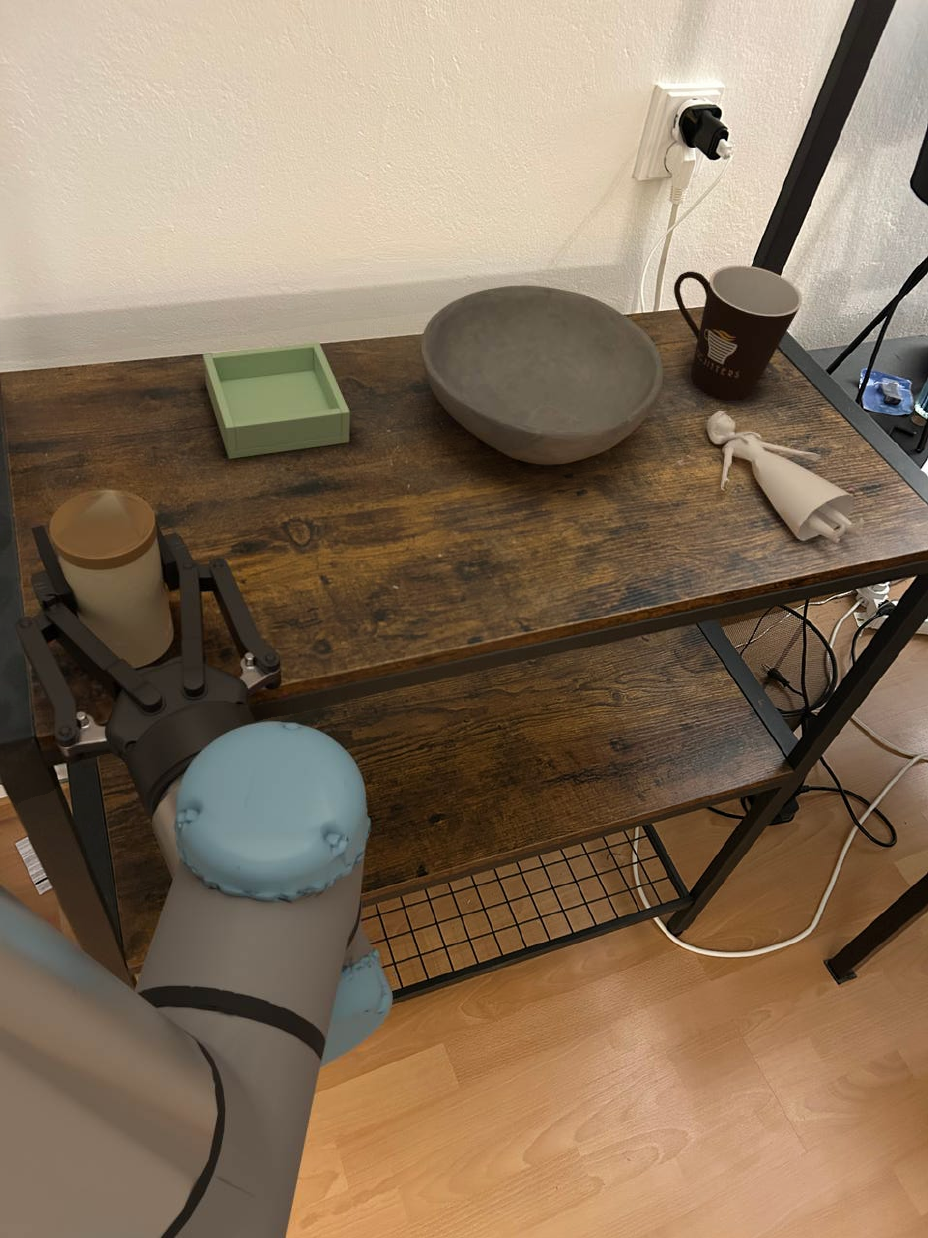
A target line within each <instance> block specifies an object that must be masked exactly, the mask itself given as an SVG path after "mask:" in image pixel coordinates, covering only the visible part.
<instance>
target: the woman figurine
mask: <svg viewBox="0 0 928 1238" xmlns="http://www.w3.org/2000/svg"><path fill="white" fill-rule="evenodd" d="M735 430H736V421H735V420H733V419H732V418H731V417H730V415H729V414H728V413H727V412H726V411H724V410H718V411H716V412H714V413H713V414H712V415H711V416H710V417H709V418H708V419H707V422H706V432H707V434H708V437H709V440H710V441H711V442H712V443H713V444H715V445H723V444H724V446H722V448H721V451H722V453H723V454H724V460H723V465H722V475H721V479H720V481H721V483H720V489H721V491H725V489H724V486H725V484H726V482H727V483H729V482H730V479H729V477H728V472H729V469H730V468H731V465H732V461H733V457H735V458H738V459H744V460H746V461H749V462H750V463H751V466H752V467H751V468H752V474H753V475H754V478H755V480H756V482H757V484H759V486H760V487H761V489H762V491H763V492H764V494H765V495H766V497H767V498H768V500H769V501H770V504H772V506H773V508H774V510H775V511H776V512H777V513H778V515H779V516H780V517H781V519H782V520H783V521H784V522H785V524H786V526H787V527H788V528H789V529H790V530H791V532H792V533H793V534H794V536H795V537H796V538H797V539H799V540H800V541H802V542H805V541H807V540H810V539H812V538H815V537H818V536H819V535H822V536H823V537H825V538H827V539H828V540H830V541H831V542H834V543H835V544H838V543H839V542H840V541H841V538H840V537H842V536H843V535H844V534H845V532H846V531H847V532H848V533H850V534H852V535H854V536H856V537H858V536H859V535H860V533H861V531H860V530H861V529H862V528H863V527H864V525H865V522H866V521H865V520H864V518H863V517H860V518H859V520H858V521H856V522H852V521H851V520H850V519H848V516H849V515H850V514H851V513H852V511H853V510H854V508H855V496H854V495H852V494H851V493H849V492H847V491H845V490H844V489H842V488H841V487H839V486H837V485H835V484H833V483H832V482H830V481H829V480H827V479H825V478H823V477H821V476H820V475H818V474H816V473H814V472H813V471H810V470H808V469H806V468H805V467H803V466H801V465H799V464H798V463H796V462H793V461H792V460H790V459H787V458H785V457H783V456H781V455H778V454H776V453H779V454H787V455H793V456H797V457H801V458H803V459H806V460H811V461H814V462H817V461H818V460H819V459H821V457H822V455H821V454H818V453H815V452H812V451H801V450H799V449H798V450H797V449H794V448H789V447H786V446H784V445H779V444H773V443H769V442H766V441H761V440H759V439H763V438H762V435H760V433H758V432H754V431H751V430H750V431H742V432H741V431H740V432H735ZM773 452H774V453H773ZM837 527H839V528H837ZM847 537H849V536H847Z"/></svg>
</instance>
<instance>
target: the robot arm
mask: <svg viewBox="0 0 928 1238" xmlns="http://www.w3.org/2000/svg"><path fill="white" fill-rule="evenodd" d="M142 499H144V500H145V501H146V499H145V498H144V497H142ZM156 526H157V540H158V546H159V551H160V557H161V563H162V568H163V574H164V579H165V585H166V588H167V589H168V591H169V592H173V591H177V590H179V603H180V604H179V605H180V622H181V623H180V626H181V628H180V629H181V639H180V640H181V641H180V644H181V655H178V656H175V657H173V658H170V659H168V660H167V661H165V662H163V663H162V664H159V665H156V666H148V667H142V668H140V669H136V668H133V667H132V666H131V665H130V664H129V663H128V662H127V661H126V660H124V659H120V658H119V657H118V656H116V655H115V654H114V653H113V652H112V651H111V650H110V649H109V648H108V647H107V646H106V645H105V644H104V643H103V642H102V641H101V640H100V639H99V638H98V637H97V636H96V635H95V634H94V633H93V632H92V631H91V630H90V629H89V628H88V627H87V626H86V625H84V624H83V623H82V622H81V621H80V620H79V617H78V614H77V610H76V607H75V604H74V600H73V597H72V593H71V590H70V588H69V586H68V583H67V581H66V579H65V577H64V573H63V570H62V567H61V563H60V561H59V558H58V556H57V554H56V553H55V552H56V551H55V549H54V547H53V544H52V543H51V541H50V539H49V536H48V533H47V531H46V529H45V526H44V525H38V526H35V527H32V528H31V529H30V530H31V532H32V535H33V538H34V540H35V544H36V548H37V551H38V554H39V558H40V560H41V562H42V565H43V567H44V570H41V571H37V572H33V573H32V574H31V578H30V582H31V585H32V587H33V591H34V595H35V597H36V599H37V602H38V604H39V607H40V610H39V612H38V613H37V614H36V615H35V616H23V617H21V618H19V619H18V620H16V622H15V624H14V627H15V630H16V633H17V635H18V638H19V641H20V643H21V646H22V649H23V651H24V654H25V657H26V658H27V660H28V663H29V664H30V667H31V668H32V671H33V673H34V674H35V675H34V676H35V677H36V679H37V682H38V683H39V685H40V687H41V689H42V692H43V694H44V695H45V698H46V700H47V702H48V704H49V707H50V708H51V710H52V712H53V716H54V717H53V735H54V739H55V741H56V743H57V747H58V749H59V752H60V754H61V758H62V760H63V761H64V762H65V763H67V764H76V763H77V764H78V763H79V762H80V761H82V759H84V757H85V753H89V752H98V751H104V750H105V751H106V750H109V751H110V752H111V754H113V756H115V757H117V758H119V759H120V760H121V761H122V762H123V763H124V765H125V766H126V768H127V771H128V774H129V776H130V779H131V780H132V783H133V786H134V788H135V790H136V793H137V795H138V798H139V801H140V803H141V805H142V808H143V810H144V812H145V815H146V817H147V818H148V819H149V820H150V821H151V829H152V832H153V834H154V837H155V839H156V843H157V845H158V846H159V850H160V852H161V855H162V857H163V859H164V862H165V864H166V867H167V869H168V872H169V874H170V876H171V880H172V882H171V885H170V887H169V890H168V893H167V895H166V899H165V902H164V905H163V907H162V909H161V912H160V916H159V918H158V922H157V924H156V927H155V930H154V933H153V936H152V938H151V942H150V945H149V948H148V950H147V953H146V956H145V958H144V962H143V964H142V967H141V970H140V973H139V976H138V979H137V982H136V985H135V988H134V989H133V988H132V987H130V986H129V985H128V984H126V983H125V982H124V981H122V979H120V978H119V977H117V976H116V975H115V974H114V973H112V972H111V971H110V970H109V969H107V968H106V967H105V966H104V965H102V964H101V963H100V962H99V961H97V960H96V959H94V958H93V956H91V955H90V954H89V953H87V952H86V951H85V950H83V948H81V947H80V946H78V945H77V944H76V943H74V942H73V941H72V940H71V939H70V938H68V937H67V936H66V935H64V934H63V933H62V932H61V931H59V929H57V928H56V927H54V926H53V925H52V924H51V923H49V922H48V921H47V920H46V919H44V918H43V917H42V916H41V915H39V914H38V913H37V912H36V911H34V910H33V909H32V908H31V907H29V906H28V904H26V903H25V902H23V901H22V900H21V899H19V898H18V897H17V896H15V894H13V893H11V892H10V891H9V890H8V889H7V888H6V887H4V886H3V885H2V884H0V1238H287V1233H288V1228H289V1223H290V1218H291V1214H292V1213H291V1212H292V1208H293V1202H294V1198H295V1194H296V1188H297V1183H298V1179H299V1173H300V1168H301V1163H302V1158H303V1153H304V1149H305V1144H306V1139H307V1134H308V1128H309V1124H310V1119H311V1113H312V1108H313V1105H314V1104H313V1103H314V1099H315V1093H316V1089H317V1084H318V1080H319V1074H320V1070H321V1068H322V1067H324V1066H327V1065H328V1064H330V1063H331V1062H334V1061H336V1060H337V1059H339V1058H341V1057H343V1056H344V1055H346V1054H348V1053H349V1052H350V1051H352V1050H353V1049H355V1048H356V1047H358V1046H359V1045H361V1044H362V1043H363V1042H365V1040H367V1039H368V1038H370V1037H371V1035H372V1034H374V1033H375V1031H377V1029H379V1028H380V1026H381V1025H382V1024H383V1023H384V1021H385V1020H386V1019H387V1017H388V1016H389V1014H390V1012H391V1009H392V1005H393V1001H394V998H393V996H394V995H393V991H392V989H391V986H390V983H389V982H388V979H387V976H386V974H385V972H384V969H383V967H382V965H381V962H380V957H381V956H380V953H379V950H378V949H377V948H376V947H375V948H373V945H372V943H370V940H369V939H368V936H367V935H366V933H365V931H364V928H363V925H362V912H363V911H362V910H363V901H362V884H363V877H364V865H365V855H366V847H367V840H368V839H369V837H370V833H371V832H372V826H371V818H370V817H369V816H368V807H367V792H366V791H367V790H366V787H365V782H364V778H363V775H362V773H361V771H360V768H359V767H358V764H357V763H356V761H355V760H354V758H353V756H351V754H350V753H349V752H348V751H347V749H345V747H343V746H342V745H341V744H340V743H339V742H338V741H336V740H335V739H334V738H332V736H330V735H327V734H326V733H325V732H322V731H321V730H318V729H316V728H313V727H310V726H307V725H303V724H300V723H296V722H285V721H284V722H282V721H276V720H275V721H273V720H272V721H271V720H269V721H261V722H257V721H256V719H255V717H254V715H253V713H252V712H251V710H250V703H251V701H250V697H251V696H253V695H254V694H256V693H258V692H259V691H261V690H263V689H264V688H265V689H266V690H270V691H272V690H277V689H279V688H280V687H281V684H282V666H281V656H280V654H279V653H278V652H277V651H276V650H275V649H274V648H273V647H272V646H270V644H268V642H267V641H265V640H264V639H263V638H262V636H261V635H260V632H259V630H258V628H257V625H256V623H255V621H254V619H253V617H252V614H251V613H250V610H249V608H248V606H247V603H246V601H245V599H244V596H243V594H242V592H241V590H240V588H239V585H238V583H237V581H236V578H235V577H234V574H233V572H232V570H231V567H230V565H229V563H228V561H227V560H226V559H224V558H221V557H217V558H214V559H212V560H210V562H209V563H200V562H197V561H195V560H194V558H193V556H192V554H191V553H190V551H189V548H188V547H187V546H186V543H185V541H184V540H183V538H182V535H180V534H179V533H178V532H172V533H168V534H165V535H164V533H163V532H162V530H161V528H160V526H159V524H158V522H157V521H156ZM209 592H212V594H213V596H214V599H215V601H216V604H217V606H218V609H219V611H220V613H221V615H222V618H223V620H224V622H225V624H226V627H227V629H228V632H229V635H230V637H231V639H232V642H233V644H234V646H235V649H236V650H237V653H238V656H239V657H240V662H239V667H240V674H241V676H240V677H239V676H236V675H234V674H231V673H230V672H228V671H225V670H223V669H221V668H219V667H216V666H214V665H211V664H210V663H208V662H207V661H206V660H207V659H206V647H205V646H206V644H205V628H204V613H203V593H209ZM54 640H55V641H56V643H58V645H60V646H61V647H62V648H63V649H64V650H65V651H66V652H67V653H68V654H69V655H70V657H72V658H73V659H74V660H75V661H76V663H78V665H80V666H81V667H82V668H83V669H84V670H85V671H86V672H87V673H88V674H89V675H90V676H91V677H92V678H93V679H94V680H95V682H97V683H98V684H99V685H100V686H101V687H102V688H103V689H104V690H105V691H106V693H108V694H109V696H110V697H111V699H112V701H113V703H114V705H113V707H112V710H111V712H110V715H109V717H108V720H107V721H106V724H105V725H104V726H102V725H99V724H97V723H96V722H95V718H94V717H93V716H92V715H90V714H88V713H86V712H85V711H82V710H81V711H79V709H78V705H77V702H76V699H75V697H74V694H73V692H72V690H71V688H70V686H69V684H68V682H67V681H66V678H65V676H64V674H63V672H62V670H61V668H60V666H59V664H58V662H57V661H56V658H55V655H54V653H53V652H52V650H51V648H50V646H49V643H51V642H52V641H54Z"/></svg>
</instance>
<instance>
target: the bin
mask: <svg viewBox="0 0 928 1238" xmlns="http://www.w3.org/2000/svg"><path fill="white" fill-rule="evenodd" d="M202 359H203V368H204V369H203V370H204V378H205V386H206V391H207V393H208V396H209V399H210V402H211V405H212V410H213V412H214V416H215V419H216V421H217V425H218V429H219V432H220V434H221V438H222V441H223V444H224V447H225V451H226V454H227V457H228V459H229V460H232V459H239V458H247V457H252V456H260V455H268V454H273V453H274V454H275V453H282V452H289V451H296V450H304V449H311V448H316V447H325V446H332V445H339V444H344V443H349V442H350V422H351V421H350V418H351V412H350V408H349V407H348V404H347V402H346V401H345V398H344V395H343V393H342V391H341V389H340V386H339V384H338V382H337V380H336V377H335V375H334V373H333V370H332V368H331V366H330V363H329V360H327V359H328V358H327V357H326V354H325V352H324V350H323V349H322V346H321V343H320V342H319V341H316V342H306V343H297V344H296V343H295V344H288V345H287V344H285V345H278V346H277V345H276V346H269V347H259V348H258V347H257V348H249V349H242V350H241V349H240V350H231V351H221V352H213V353H211V352H210V353H203V354H202Z"/></svg>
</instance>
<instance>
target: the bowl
mask: <svg viewBox="0 0 928 1238" xmlns="http://www.w3.org/2000/svg"><path fill="white" fill-rule="evenodd" d="M420 356H421V363H422V366H423V370H424V372H425V377H426V379H427V382H428V384H429V387H430V388H431V390H432V393H433V394H434V396H435V398H436V399H437V401H438V402H439V403H440V405H441V406H442V407H443V409H445V411H446V412H447V413H448V414H449V415H450V416H451V417H452V418H453V419H454V420H455V421H456V422H457V423H458V424H460V425H461V426H462V427H463V428H464V429H465V430H467V431H468V432H469V433H470V434H472V435H473V436H475V437H476V438H477V439H478V440H480V441H482V442H483V443H485V444H486V445H488V446H489V447H491V448H492V449H495V450H497V451H498V452H500V453H501V454H504V455H505V456H507V457H510V458H511V459H514V460H517V461H521V462H525V463H529V464H535V465H545V466H546V465H548V466H549V465H564V464H569V463H573V462H577V461H581V460H584V459H586V458H590V457H594V456H596V455H598V454H602V453H604V452H605V451H608V450H610V449H611V448H612V447H614V446H616V445H618V444H619V443H620V442H621V441H623V440H624V439H626V438H627V437H628V436H629V435H631V434H632V433H633V432H635V430H636V429H637V428H638V427H639V426H641V424H642V423H643V422H644V421H645V419H647V417H648V416H649V414H650V412H651V411H652V410H653V408H654V407H655V405H656V403H657V401H658V399H659V396H660V393H661V390H662V387H663V382H664V364H663V360H662V356H661V354H660V351H659V350H658V348H657V346H656V344H655V342H654V341H653V339H652V338H651V337H650V336H649V335H648V333H646V331H645V330H643V329H642V328H641V327H640V326H639V325H638V324H636V323H635V322H634V321H633V320H632V319H630V318H629V317H628V316H626V315H625V314H623V313H622V312H620V311H618V310H617V309H615V308H614V307H612V306H610V305H608V304H607V303H605V302H603V301H601V300H599V299H596V298H594V297H591V296H589V295H585V294H582V293H578V292H574V291H570V290H564V289H560V288H554V287H548V286H540V285H539V286H537V285H509V286H508V285H506V286H501V287H495V288H488V289H483V290H480V291H476V292H473V293H469V294H467V295H464V296H462V297H460V298H457V299H456V300H453V301H451V302H450V303H448V304H447V305H445V306H444V307H442V308H441V309H439V310H438V311H437V312H436V313H435V314H434V315H433V316H432V318H431V319H430V320H429V321H428V323H427V324H426V327H424V330H423V333H422V336H421V340H420Z"/></svg>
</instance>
